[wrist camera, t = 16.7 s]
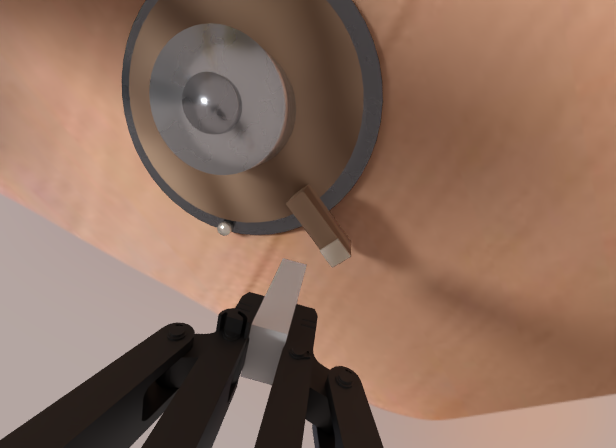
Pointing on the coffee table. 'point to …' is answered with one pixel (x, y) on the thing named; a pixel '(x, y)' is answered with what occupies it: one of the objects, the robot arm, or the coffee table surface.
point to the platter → (308, 124)
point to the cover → (221, 100)
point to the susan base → (356, 163)
